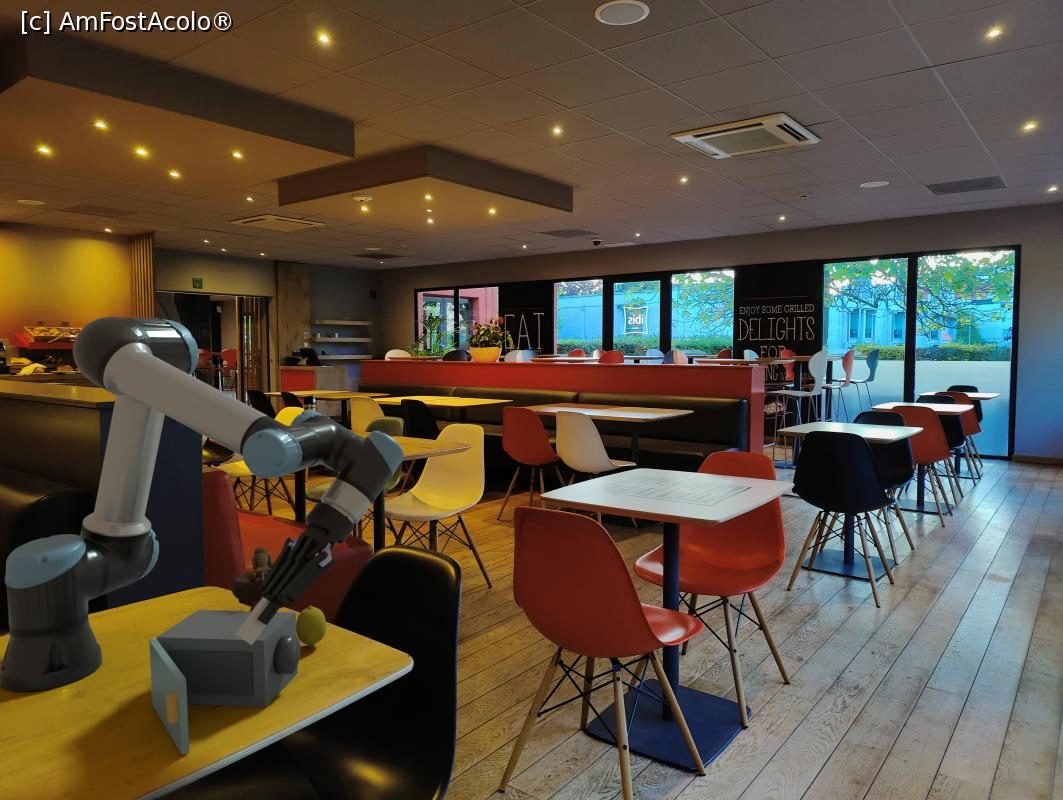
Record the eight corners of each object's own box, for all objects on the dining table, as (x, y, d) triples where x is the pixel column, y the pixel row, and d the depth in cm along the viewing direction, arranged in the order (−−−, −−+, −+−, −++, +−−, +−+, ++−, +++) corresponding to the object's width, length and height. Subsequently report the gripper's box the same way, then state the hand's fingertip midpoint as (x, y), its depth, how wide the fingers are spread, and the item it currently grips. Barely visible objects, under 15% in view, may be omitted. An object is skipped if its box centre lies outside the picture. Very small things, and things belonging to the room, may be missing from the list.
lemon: (318, 638, 140) (316, 598, 140) (331, 646, 136) (330, 606, 136) (291, 646, 136) (290, 606, 136) (305, 655, 132) (303, 613, 132)
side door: (143, 706, 113) (140, 641, 112) (158, 702, 115) (155, 637, 114) (172, 757, 99) (168, 683, 98) (189, 752, 100) (186, 679, 100)
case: (158, 703, 115) (155, 637, 114) (200, 669, 127) (198, 609, 126) (277, 708, 113) (274, 641, 112) (308, 673, 125) (306, 612, 124)
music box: (306, 649, 135) (294, 549, 132) (249, 673, 127) (235, 566, 125) (271, 627, 146) (260, 533, 143) (217, 647, 138) (204, 549, 136)
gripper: (373, 532, 116) (280, 663, 106) (332, 519, 126) (243, 639, 115) (343, 506, 112) (243, 640, 102) (303, 494, 121) (208, 616, 111)
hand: (243, 639), depth 108 cm, fingers closed
